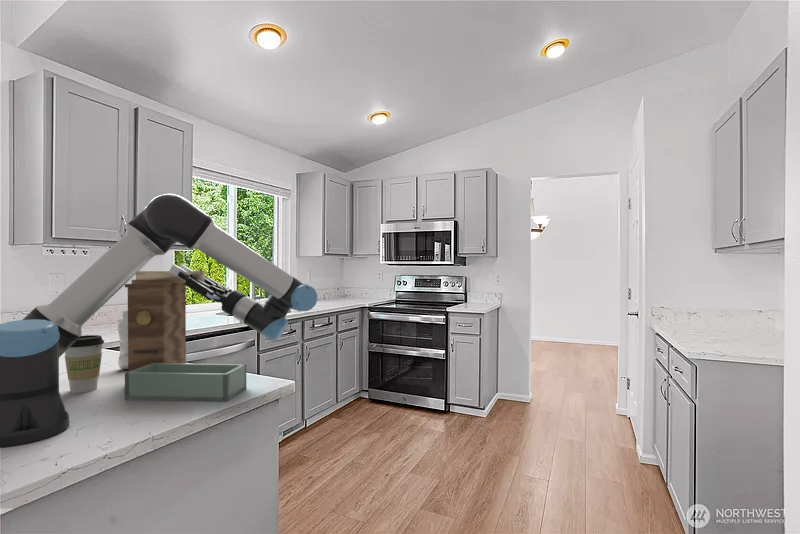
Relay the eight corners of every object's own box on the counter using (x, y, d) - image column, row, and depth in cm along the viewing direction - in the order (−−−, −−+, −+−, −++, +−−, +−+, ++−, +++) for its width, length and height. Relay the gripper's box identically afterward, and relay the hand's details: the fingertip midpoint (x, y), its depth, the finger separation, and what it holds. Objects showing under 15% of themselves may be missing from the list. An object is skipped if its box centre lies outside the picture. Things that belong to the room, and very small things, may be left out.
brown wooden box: (162, 386, 130) (162, 280, 130) (123, 385, 131) (123, 280, 131) (188, 374, 144) (187, 278, 144) (152, 374, 145) (152, 278, 145)
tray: (227, 401, 116) (227, 374, 116) (124, 399, 118) (124, 373, 118) (246, 388, 128) (246, 364, 128) (153, 386, 130) (152, 363, 130)
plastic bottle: (133, 371, 149) (133, 311, 149) (113, 371, 149) (113, 311, 149) (144, 366, 155) (144, 309, 155) (125, 366, 156) (125, 309, 155)
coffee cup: (82, 395, 121) (82, 340, 121) (53, 393, 123) (52, 339, 123) (112, 386, 131) (112, 335, 131) (84, 384, 133) (84, 334, 133)
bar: (198, 282, 135) (198, 271, 135) (135, 282, 137) (135, 271, 136) (204, 282, 139) (204, 270, 139) (143, 282, 140) (143, 270, 140)
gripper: (220, 320, 128) (153, 279, 129) (244, 313, 145) (184, 277, 146) (233, 297, 128) (165, 256, 129) (256, 293, 144) (195, 257, 146)
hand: (175, 268), depth 137 cm, fingers closed on bar, 4 cm apart
